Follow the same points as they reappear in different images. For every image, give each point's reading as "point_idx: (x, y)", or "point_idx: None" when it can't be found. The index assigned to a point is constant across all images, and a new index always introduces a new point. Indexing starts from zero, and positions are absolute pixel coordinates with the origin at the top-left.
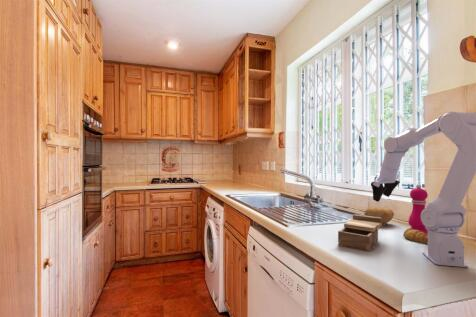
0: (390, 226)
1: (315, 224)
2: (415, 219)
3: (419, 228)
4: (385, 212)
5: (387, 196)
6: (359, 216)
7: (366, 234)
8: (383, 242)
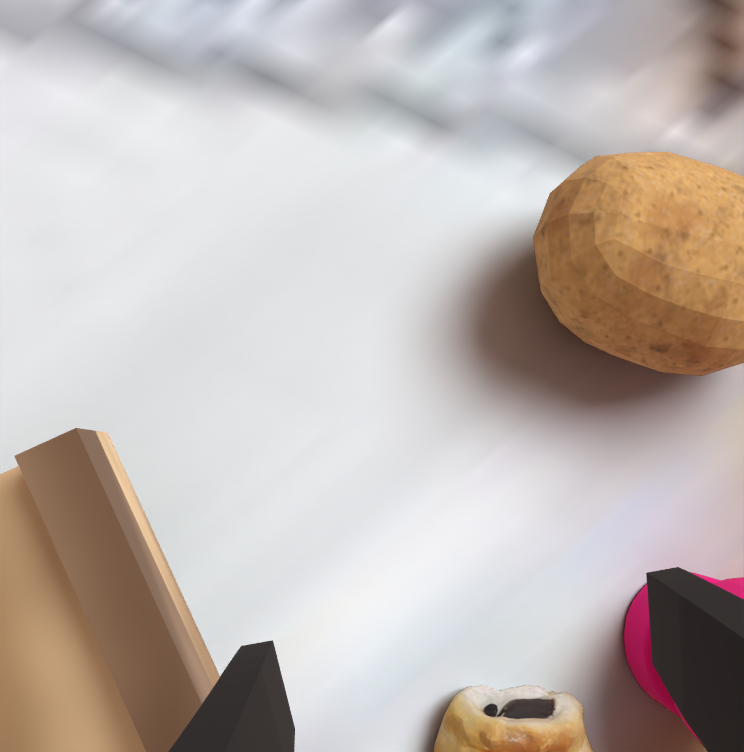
0: (651, 383)
1: (89, 37)
2: None
3: None
4: (703, 342)
5: (654, 651)
6: (54, 533)
7: None
8: None
